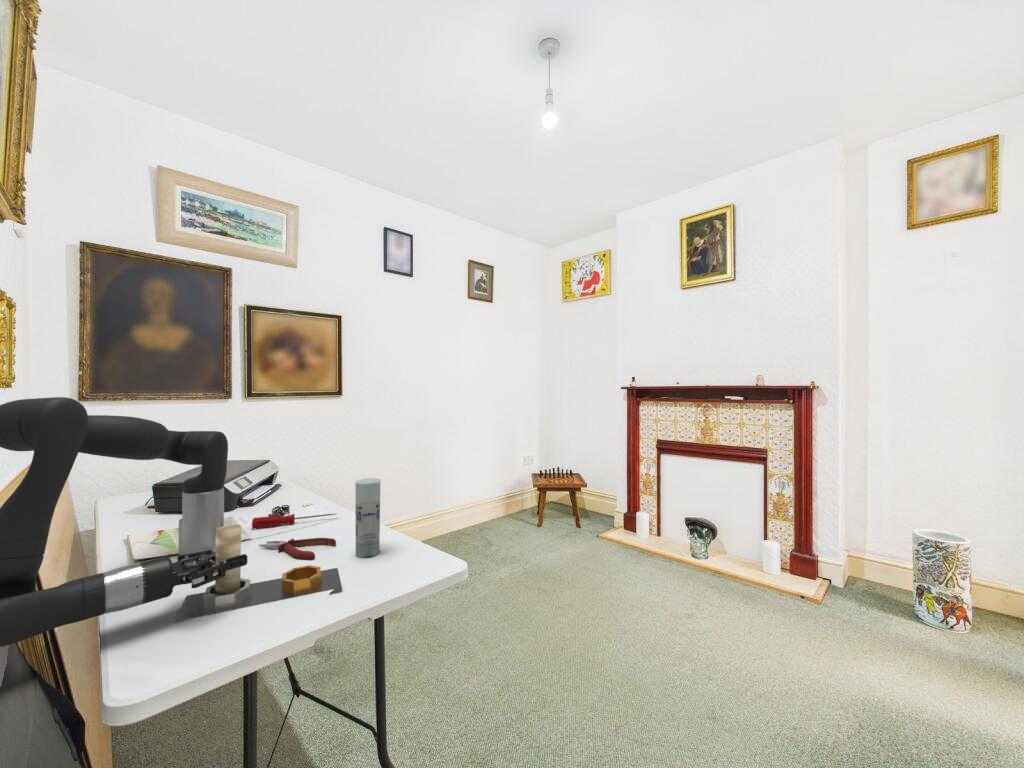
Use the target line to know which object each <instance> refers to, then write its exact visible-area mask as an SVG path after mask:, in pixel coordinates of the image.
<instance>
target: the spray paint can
mask: <svg viewBox="0 0 1024 768" xmlns="http://www.w3.org/2000/svg"><path fill="white" fill-rule="evenodd" d="M380 532H381V479H379V478H375V477H374V478H373V477H372V478H370V477H369V478H362V479H358V480H356V481H355V556H356V557H357V558H360V559H367V558H369V559H370V558H373V557H376V556H378V555H379V553H380V537H381V536H380V534H381V533H380Z"/></svg>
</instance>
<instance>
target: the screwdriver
mask: <svg viewBox="0 0 1024 768" xmlns="http://www.w3.org/2000/svg"><path fill="white" fill-rule="evenodd" d="M337 514H338V513H326V514H317V515H315V514H314V515H308V516H298V517H295V513H293V514H290V515H282V516H279V515H269V516H261V517H254V518H253V519H252V522H251V528H252V529H253V528H256V529H261V527H263V528H269V527H268V526H272V527H275V525H276V526H279V525H282V524H292V523H294V524H295V520H299V519H300V520H301V519H310V518H319V517H327V516H333V515H335V516H336V515H337Z"/></svg>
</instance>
